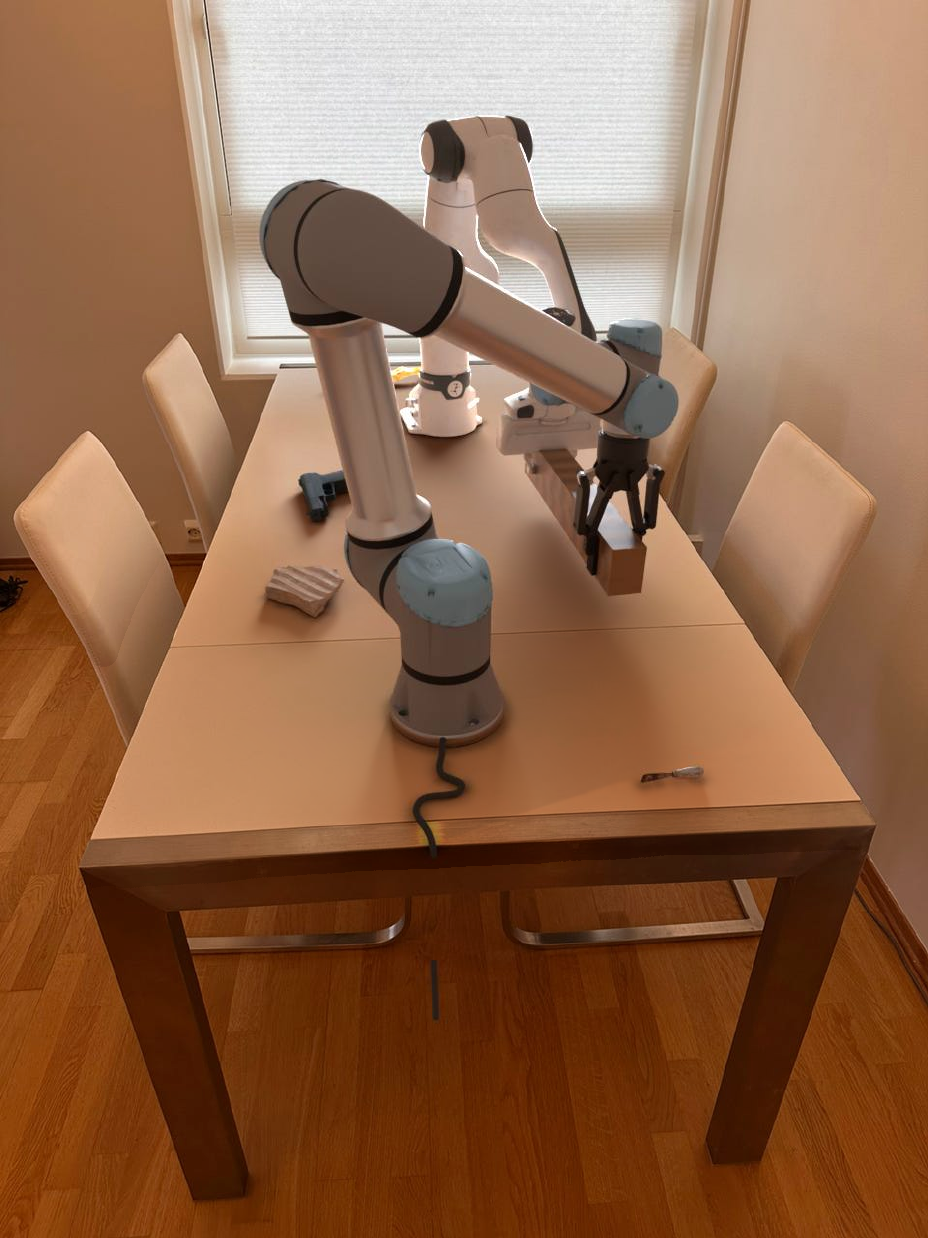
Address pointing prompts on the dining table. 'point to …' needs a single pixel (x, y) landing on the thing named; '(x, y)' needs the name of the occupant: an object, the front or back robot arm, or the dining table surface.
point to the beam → (617, 539)
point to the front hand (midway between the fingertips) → (609, 569)
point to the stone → (304, 587)
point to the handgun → (321, 491)
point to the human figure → (404, 372)
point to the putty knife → (674, 774)
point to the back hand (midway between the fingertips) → (548, 472)
